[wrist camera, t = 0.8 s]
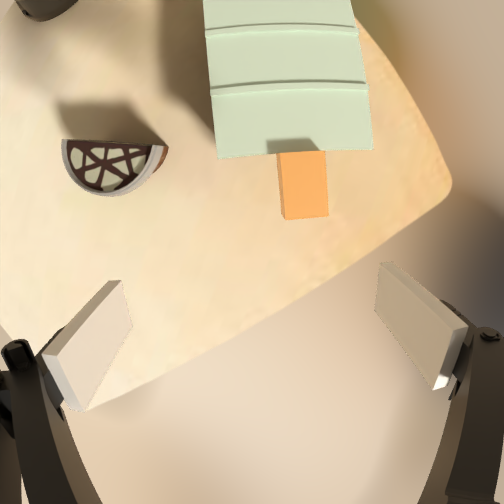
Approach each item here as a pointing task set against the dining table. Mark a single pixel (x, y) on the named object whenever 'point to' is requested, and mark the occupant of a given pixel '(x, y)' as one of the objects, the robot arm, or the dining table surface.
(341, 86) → the lid
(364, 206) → the dining table surface
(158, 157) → the food container
